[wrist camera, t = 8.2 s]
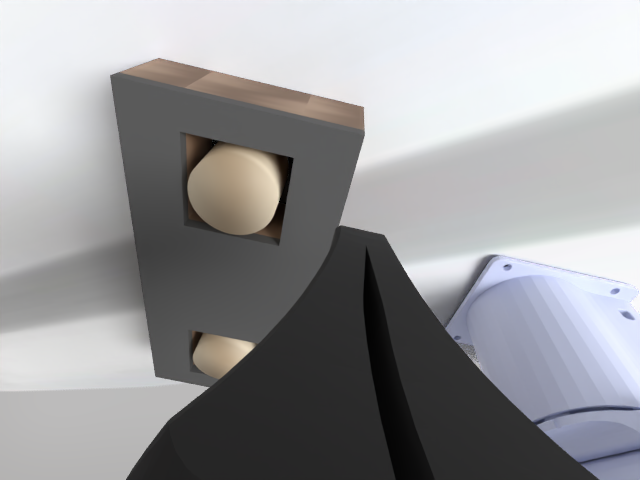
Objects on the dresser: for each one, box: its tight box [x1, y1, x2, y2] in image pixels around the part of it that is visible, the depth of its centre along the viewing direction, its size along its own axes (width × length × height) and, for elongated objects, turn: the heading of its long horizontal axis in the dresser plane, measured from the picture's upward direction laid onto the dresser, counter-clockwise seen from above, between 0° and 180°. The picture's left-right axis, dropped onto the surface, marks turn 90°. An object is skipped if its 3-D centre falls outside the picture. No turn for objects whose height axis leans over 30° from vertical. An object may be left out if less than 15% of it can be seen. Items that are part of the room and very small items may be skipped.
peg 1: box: [187, 141, 289, 235], centre depth 17 cm, size 4×4×4 cm
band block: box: [110, 58, 365, 387], centre depth 21 cm, size 10×21×4 cm, turn 168°
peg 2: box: [193, 333, 258, 379], centre depth 25 cm, size 4×4×4 cm
